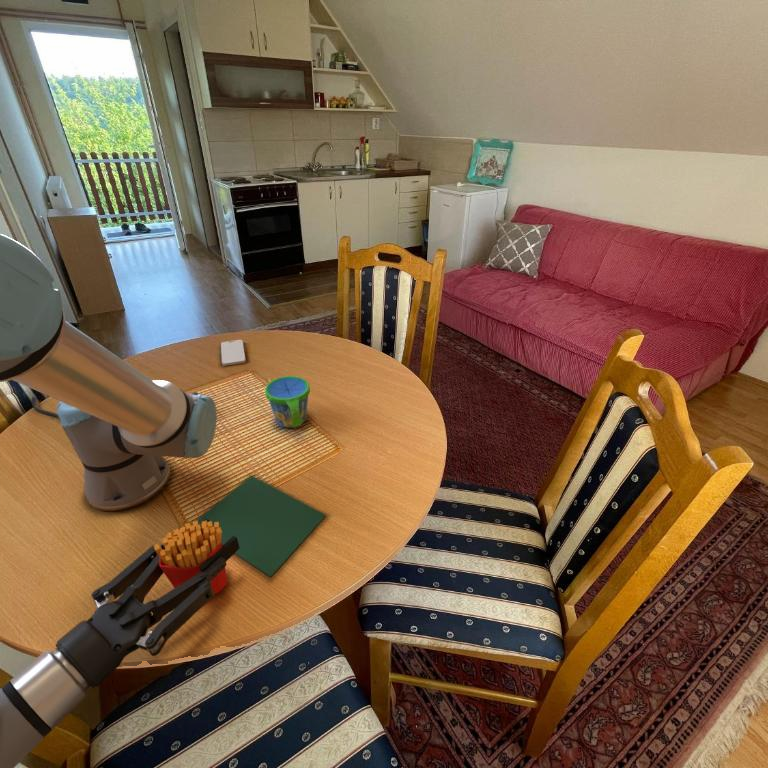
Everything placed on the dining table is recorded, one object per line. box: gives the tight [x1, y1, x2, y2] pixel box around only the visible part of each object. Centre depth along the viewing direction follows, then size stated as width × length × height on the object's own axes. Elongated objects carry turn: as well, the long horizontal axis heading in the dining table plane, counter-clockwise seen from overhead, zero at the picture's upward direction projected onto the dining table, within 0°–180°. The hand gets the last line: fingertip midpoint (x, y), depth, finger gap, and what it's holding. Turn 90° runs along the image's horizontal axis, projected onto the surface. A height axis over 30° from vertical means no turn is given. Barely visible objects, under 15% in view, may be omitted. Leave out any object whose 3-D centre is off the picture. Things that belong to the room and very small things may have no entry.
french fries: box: [153, 520, 228, 595], centre depth 64 cm, size 9×4×13 cm, turn 116°
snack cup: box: [264, 375, 311, 429], centre depth 102 cm, size 16×10×10 cm
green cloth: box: [191, 475, 327, 578], centre depth 79 cm, size 20×15×1 cm
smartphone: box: [219, 339, 247, 367], centre depth 134 cm, size 7×1×15 cm
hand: (222, 533), depth 67 cm, fingers closed on french fries, 6 cm apart
